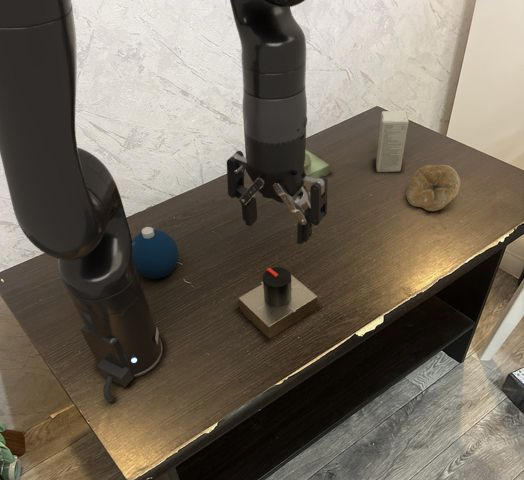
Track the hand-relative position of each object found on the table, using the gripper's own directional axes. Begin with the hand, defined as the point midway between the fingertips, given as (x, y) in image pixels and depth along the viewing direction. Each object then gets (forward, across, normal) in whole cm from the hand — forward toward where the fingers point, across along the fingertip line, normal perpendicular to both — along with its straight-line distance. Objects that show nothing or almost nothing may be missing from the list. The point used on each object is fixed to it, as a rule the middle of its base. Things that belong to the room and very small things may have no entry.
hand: (276, 231), depth 73 cm
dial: (+12, +1, -2) cm, 12 cm away
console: (+15, +1, -2) cm, 15 cm away
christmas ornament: (+15, -23, -4) cm, 27 cm away
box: (+15, +1, +45) cm, 48 cm away
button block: (+15, -15, +33) cm, 39 cm away
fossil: (+15, +13, +38) cm, 42 cm away
